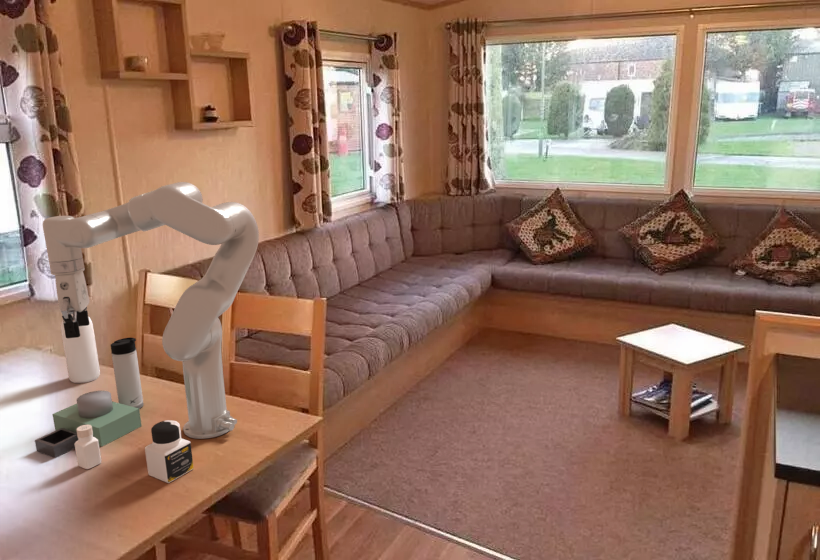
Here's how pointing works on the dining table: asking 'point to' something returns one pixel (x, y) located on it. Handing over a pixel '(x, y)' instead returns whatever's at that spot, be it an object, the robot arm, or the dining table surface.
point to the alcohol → (81, 354)
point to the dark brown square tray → (57, 442)
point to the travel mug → (127, 372)
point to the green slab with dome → (99, 416)
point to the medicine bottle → (168, 452)
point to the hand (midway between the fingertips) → (78, 331)
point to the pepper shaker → (87, 448)
